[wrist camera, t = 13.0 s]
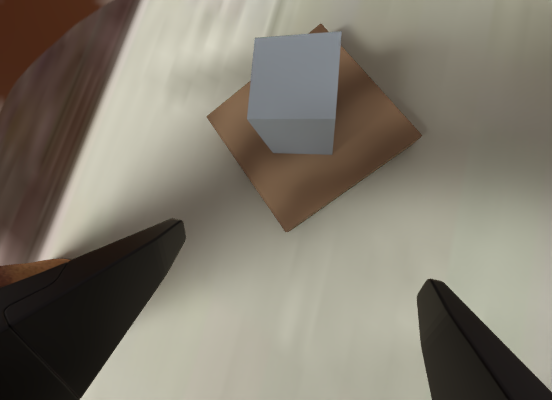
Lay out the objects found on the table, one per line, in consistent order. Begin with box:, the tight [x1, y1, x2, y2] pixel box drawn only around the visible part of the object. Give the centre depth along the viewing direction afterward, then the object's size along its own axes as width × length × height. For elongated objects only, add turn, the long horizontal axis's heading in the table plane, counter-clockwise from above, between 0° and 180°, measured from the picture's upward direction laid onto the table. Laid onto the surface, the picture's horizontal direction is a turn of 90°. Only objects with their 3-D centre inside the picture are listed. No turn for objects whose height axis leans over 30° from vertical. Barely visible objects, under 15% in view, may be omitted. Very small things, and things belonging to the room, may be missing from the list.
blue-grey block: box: [247, 31, 342, 155], centre depth 17 cm, size 5×5×7 cm
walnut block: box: [207, 24, 422, 232], centre depth 21 cm, size 13×13×2 cm
